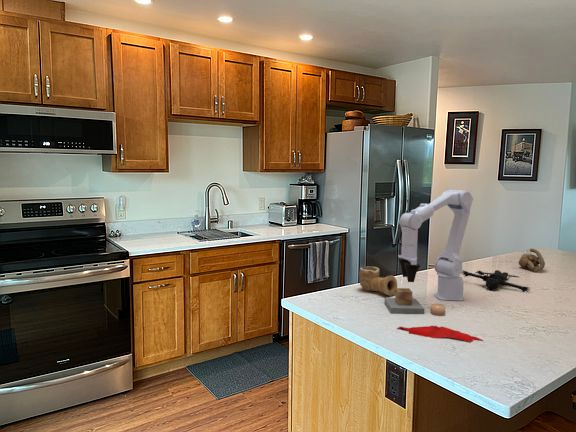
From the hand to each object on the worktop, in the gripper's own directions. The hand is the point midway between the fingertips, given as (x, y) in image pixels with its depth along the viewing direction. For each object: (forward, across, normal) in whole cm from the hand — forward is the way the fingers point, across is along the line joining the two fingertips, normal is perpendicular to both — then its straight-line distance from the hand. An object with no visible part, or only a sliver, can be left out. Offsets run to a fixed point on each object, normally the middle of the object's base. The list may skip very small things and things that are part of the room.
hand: (408, 279), depth 165 cm
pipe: (+10, -15, -9) cm, 20 cm away
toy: (+11, -32, +49) cm, 60 cm away
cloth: (+11, +30, +2) cm, 32 cm away
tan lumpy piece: (+11, -63, +81) cm, 103 cm away
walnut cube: (+8, +6, -3) cm, 10 cm away
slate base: (+10, +6, -3) cm, 12 cm away
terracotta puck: (+10, +11, +8) cm, 17 cm away
